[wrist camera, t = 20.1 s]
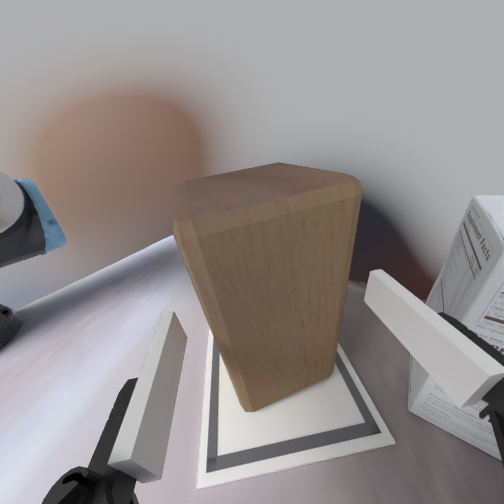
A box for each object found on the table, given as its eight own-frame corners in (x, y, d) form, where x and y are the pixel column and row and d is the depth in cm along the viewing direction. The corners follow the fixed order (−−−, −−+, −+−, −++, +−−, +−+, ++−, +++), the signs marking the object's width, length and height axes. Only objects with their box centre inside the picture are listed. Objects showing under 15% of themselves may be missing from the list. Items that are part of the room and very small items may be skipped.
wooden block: (290, 309, 28) (283, 159, 18) (337, 378, 20) (375, 171, 9) (224, 333, 26) (173, 181, 16) (244, 421, 18) (162, 221, 7)
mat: (210, 322, 29) (209, 320, 28) (314, 301, 29) (314, 299, 29) (198, 490, 15) (196, 488, 15) (394, 444, 15) (396, 442, 15)
